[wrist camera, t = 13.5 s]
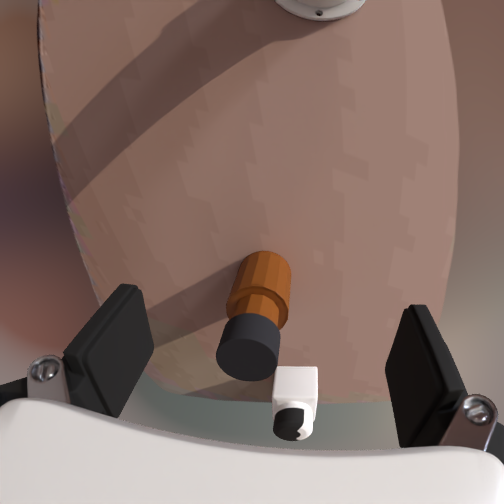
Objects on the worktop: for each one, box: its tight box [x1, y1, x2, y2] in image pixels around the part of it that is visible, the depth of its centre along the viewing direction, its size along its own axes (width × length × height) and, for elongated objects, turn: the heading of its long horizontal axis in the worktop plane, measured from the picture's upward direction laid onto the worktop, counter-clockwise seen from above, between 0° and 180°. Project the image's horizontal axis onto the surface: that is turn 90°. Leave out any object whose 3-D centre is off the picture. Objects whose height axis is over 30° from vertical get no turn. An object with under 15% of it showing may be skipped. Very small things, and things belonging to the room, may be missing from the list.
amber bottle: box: [226, 251, 291, 330], centre depth 39 cm, size 7×7×13 cm
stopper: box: [216, 313, 280, 381], centre depth 33 cm, size 6×6×8 cm
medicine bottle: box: [272, 366, 318, 441], centre depth 48 cm, size 7×7×12 cm
